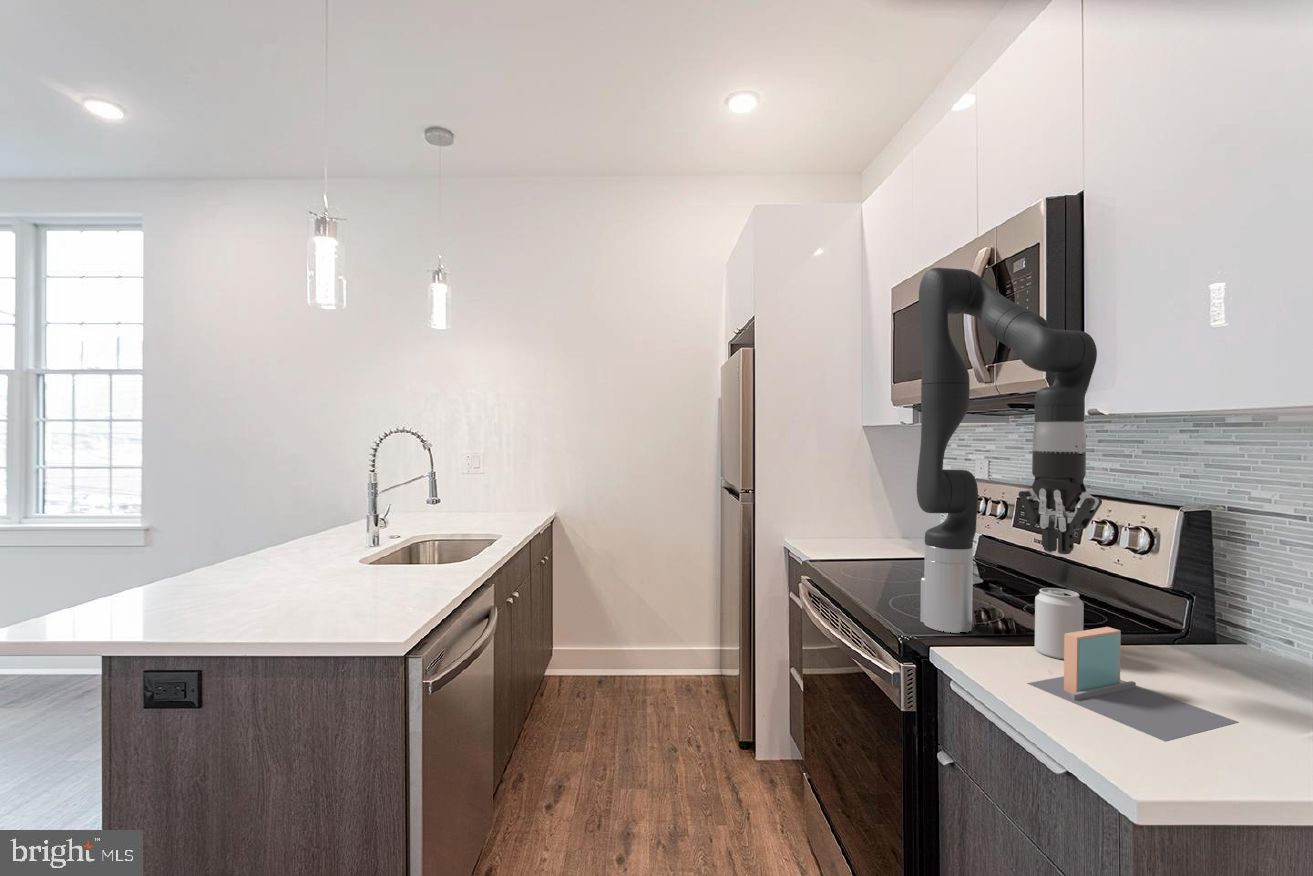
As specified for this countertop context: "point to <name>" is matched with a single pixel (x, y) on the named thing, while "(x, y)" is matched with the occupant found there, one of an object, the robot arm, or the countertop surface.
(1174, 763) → the countertop surface
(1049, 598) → the can
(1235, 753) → the countertop surface
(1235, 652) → the countertop surface
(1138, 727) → the mat
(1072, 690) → the tile
